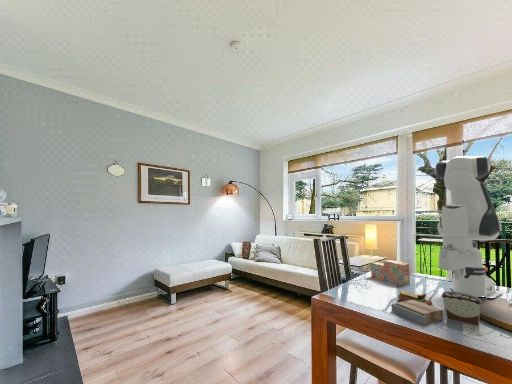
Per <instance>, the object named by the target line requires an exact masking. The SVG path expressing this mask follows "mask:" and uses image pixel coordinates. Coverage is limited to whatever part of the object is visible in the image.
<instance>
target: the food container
mask: <svg viewBox="0 0 512 384" xmlns="http://www.w3.org/2000/svg"><path fill="white" fill-rule="evenodd" d="M441 299H442V300H443V304H444V310H445V315H446V320H447V321H452V322H456V323H461V324H465V325H469V326H472V327H473V326H474V327H477V328H479V327H480V320H481V319H480V316H481V306H482V307H484V306H483V303H482V300H481V298H478V297H476V296H473V295H469V294H465V293H460V292H454V291H443V292H442V294H441Z"/></svg>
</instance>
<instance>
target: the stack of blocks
mask: <svg viewBox="0 0 512 384" xmlns="http://www.w3.org/2000/svg"><path fill="white" fill-rule="evenodd" d="M370 269H371V270H370V273H371V274H370V275H371V276H370V277H371V278H374V279H377V280H381V281H384V282H389V283H392V284H395V285H399V286H403V287H405V286H408V285H409V286H410V284H411V277H410V274H411V273H410V263H406V262H403V261H396V260H392V259H391V260H390V259H388V260H383V262H377V261H375V262H374V261H373V262H370Z"/></svg>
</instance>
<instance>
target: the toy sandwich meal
mask: <svg viewBox="0 0 512 384" xmlns="http://www.w3.org/2000/svg"><path fill="white" fill-rule="evenodd" d="M397 297H398V299H399V300H400V302H403V301H408V300H416V301H419V302H422V303H425V304H427V305H430V306H433V305H434V303H433V301H432V300H429V299H425V298H426V297H427V294H426V293H424V294H417V293H414V292H410V291H406V290H404V289H401V290H399V294H398V296H397Z"/></svg>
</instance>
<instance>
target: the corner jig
mask: <svg viewBox="0 0 512 384" xmlns="http://www.w3.org/2000/svg"><path fill="white" fill-rule="evenodd" d="M408 301H409V300H408ZM398 302H399V301H398ZM398 302H394V303H391V312H394V313H395V314H398V315H400V316H402V317H405V318H407V319H409V320H412V321H414V322H417V323H419V324H421V325H423V326H427V325H428V323H427V319H426V316H424V315H421V314H419V313H416V312H414V311H411V310H409V309H406V308H404V307H401V306H399V305H396V303H398Z"/></svg>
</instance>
